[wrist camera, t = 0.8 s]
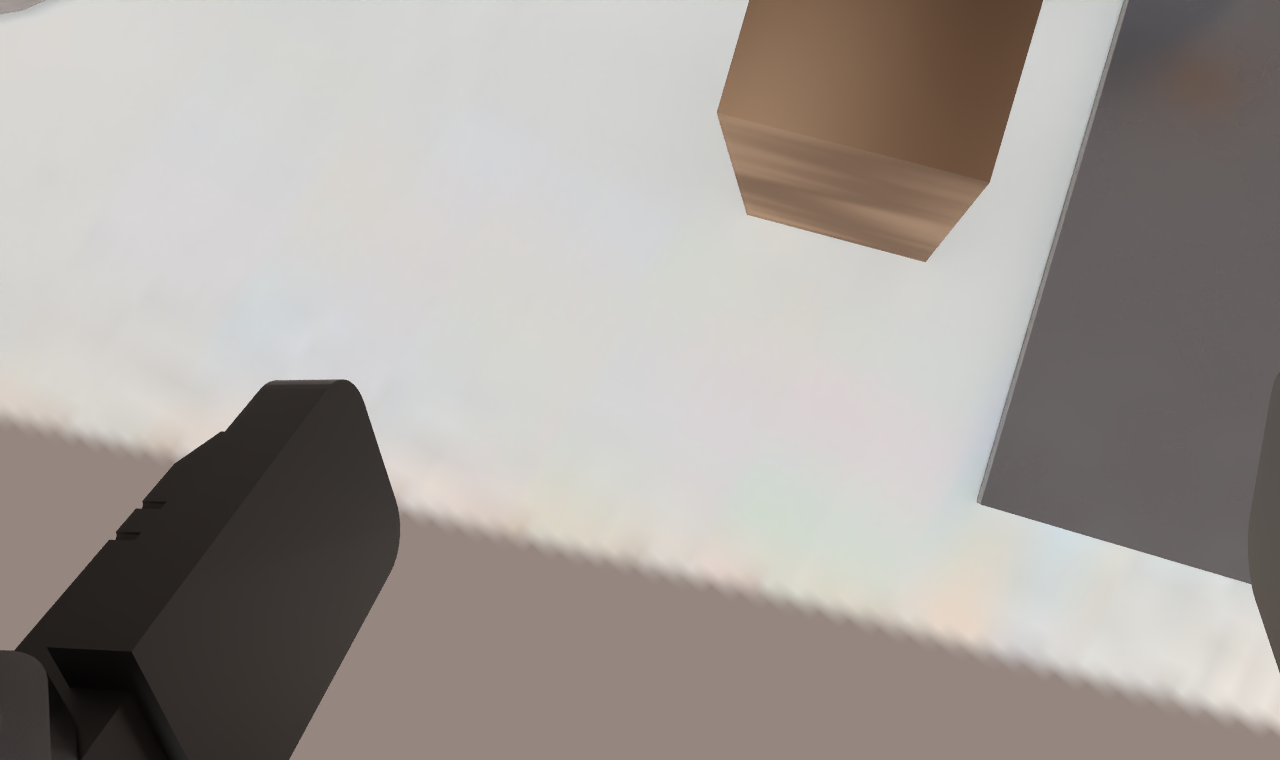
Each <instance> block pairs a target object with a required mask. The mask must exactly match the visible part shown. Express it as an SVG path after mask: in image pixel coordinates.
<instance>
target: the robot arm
mask: <svg viewBox="0 0 1280 760" xmlns="http://www.w3.org/2000/svg"><path fill="white" fill-rule="evenodd" d="M43 1H45V0H0V14H5V13H10V12H16V11H21V10H24V9H26V8H29V7H31V6H33V5H36V4H38V3H40V2H43ZM142 502H143V507H142V509H135V510H134V512H133V513H132V514H131V515H130V516H129V517H128V519H127V520H126V521H125V522H124V523H123V524H122V526H121V527H120V528H119V529H118V530H117V531H116V534H117V537H116V540H109V541H108V542H107V543H106V544H105V545H104V547H103V548H102V549H101V550H100V551H99V552H98V554H97V555H96V556H95V557H94V558H93V559H92V561H91V562H90V563H89V564H88V565H87V567H86V568H85V569H84V570H83V571H82V572H81V573H80V575H79V576H78V577H77V578H76V579H75V580H74V582H73V583H72V584H71V585H70V586H69V587H68V589H67V590H66V591H65V592H64V593H63V594H62V595H61V597H60V598H59V599H58V600H57V601H56V602H55V604H54V605H53V606H52V607H51V608H50V609H49V611H48V612H47V613H46V614H45V615H44V616H43V618H42V619H41V620H40V621H39V622H38V624H37V625H36V626H35V627H34V628H33V629H32V631H31V632H30V633H29V634H28V635H27V636H26V638H25V639H24V640H23V641H22V642H21V644H19V646H18V647H17V648H16V649H15V650H14V651H5V650H2V651H1V650H0V760H289V759H290V757H291V755H292V753H293V751H294V749H295V748H296V746H297V744H298V742H299V740H300V738H301V737H302V734H303V733H304V731H305V729H306V727H307V725H308V723H309V722H310V720H311V718H312V716H313V714H314V713H315V711H316V709H317V707H318V705H319V703H320V701H321V700H322V698H323V696H324V694H325V692H326V690H327V689H328V687H329V685H330V683H331V681H332V679H333V677H334V675H335V674H336V672H337V670H338V668H339V666H340V664H341V663H342V661H343V659H344V657H345V655H346V654H347V652H348V650H349V648H350V646H351V644H352V642H353V641H354V639H355V637H356V635H357V633H358V631H359V629H360V628H361V626H362V624H363V622H364V620H365V618H366V616H367V615H368V613H369V611H370V609H371V607H372V605H373V604H374V602H375V600H376V598H377V596H378V594H379V593H380V591H381V589H382V587H383V585H384V583H385V582H386V580H387V578H388V576H389V574H390V572H391V570H392V567H393V566H394V563H395V560H396V556H397V552H398V547H399V538H400V519H399V512H398V507H397V503H396V499H395V496H394V493H393V490H392V487H391V484H390V481H389V478H388V475H387V472H386V469H385V466H384V462H383V459H382V456H381V453H380V450H379V447H378V444H377V441H376V438H375V435H374V432H373V429H372V426H371V422H370V419H369V416H368V413H367V410H366V407H365V404H364V401H363V399H362V396H361V394H360V392H359V391H358V389H357V388H356V387H355V385H354V384H352V383H351V382H350V381H347V380H275V381H271V382H269V383H267V384H265V385H264V386H263V387H262V388H261V389H260V390H259V391H258V393H257V394H256V395H255V396H254V397H253V399H252V400H251V401H250V402H249V403H248V405H247V406H246V407H245V408H244V409H243V411H242V412H241V413H240V414H239V415H238V417H237V418H236V419H235V420H234V421H233V423H232V424H231V425H230V426H229V427H228V429H227V430H226V431H225V432H220V433H218V434H217V435H215V436H214V437H212V438H211V439H210V440H208V441H207V442H205V443H204V444H202V445H201V446H199V447H198V448H197V449H195V450H194V451H192V452H191V453H189V454H188V455H187V456H185V457H184V458H182V459H181V460H179V461H178V462H176V463H175V464H174V465H173V466H172V467H171V469H170V470H169V471H168V472H167V473H166V474H165V475H164V477H163V478H162V479H161V480H160V481H159V483H158V484H157V485H156V486H155V487H154V488H153V489H152V491H151V492H150V493H149V494H148V495H147V497H146V498H145V499H144V500H143V501H142ZM1248 560H1249V571H1250V578H1251V584H1252V589H1253V593H1254V596H1255V600H1256V603H1257V606H1258V609H1259V612H1260V615H1261V618H1262V621H1263V624H1264V627H1265V630H1266V633H1267V636H1268V639H1269V642H1270V645H1271V648H1272V651H1273V654H1274V657H1275V660H1276V663H1277V666H1278V669H1279V672H1280V372H1279V373H1278V375H1277V377H1276V379H1275V381H1274V384H1273V387H1272V391H1271V396H1270V402H1269V407H1268V413H1267V419H1266V425H1265V431H1264V437H1263V442H1262V448H1261V454H1260V460H1259V466H1258V471H1257V477H1256V483H1255V489H1254V495H1253V500H1252V506H1251V512H1250V518H1249V527H1248Z"/></svg>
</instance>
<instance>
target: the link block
mask: <svg viewBox="0 0 1280 760" xmlns="http://www.w3.org/2000/svg"><path fill="white" fill-rule="evenodd" d="M1042 2H1043V0H749V3H748V7H747V10H746V14H745V17H744V21H743V24H742V28H741V31H740V34H739V38H738V41H737V45H736V48H735V52H734V55H733V59H732V62H731V66H730V69H729V72H728V76H727V79H726V83H725V86H724V90H723V93H722V97H721V100H720V104H719V107H718V110H717V115H718V118H719V122H720V125H721V129H722V132H723V135H724V139H725V142H726V145H727V149H728V152H729V155H730V159H731V162H732V166H733V169H734V172H735V176H736V179H737V182H738V186H739V189H740V193H741V196H742V199H743V203H744V206H745V209H746V213H747V215H751V216H755V217H758V218H762V219H766V220H770V221H773V222H777V223H781V224H785V225H788V226H792V227H796V228H800V229H803V230H807V231H811V232H815V233H818V234H822V235H826V236H830V237H833V238H837V239H841V240H845V241H848V242H852V243H856V244H860V245H863V246H867V247H871V248H875V249H878V250H882V251H886V252H890V253H893V254H897V255H901V256H905V257H908V258H912V259H916V260H920V261H923V262H926V261H927V259H928V258H929V257H930V256H931V254H932V253H933V252H934V251H935V249H936V248H937V247H938V246H939V244H940V243H941V242H942V241H943V239H944V238H945V237H946V236H947V234H948V233H949V232H950V231H951V230H952V228H953V227H954V226H955V225H956V223H957V222H958V221H959V220H960V218H961V217H962V216H963V215H964V213H965V212H966V211H967V210H968V208H969V207H970V206H971V205H972V204H973V202H974V201H975V200H976V199H977V197H978V196H979V195H980V194H981V192H982V191H983V190H984V189H985V187H986V186H987V185H988V184H989V182H990V179H991V176H992V172H993V169H994V166H995V162H996V159H997V155H998V152H999V149H1000V145H1001V142H1002V138H1003V135H1004V131H1005V128H1006V125H1007V121H1008V118H1009V114H1010V111H1011V108H1012V104H1013V101H1014V97H1015V94H1016V91H1017V87H1018V84H1019V80H1020V77H1021V74H1022V70H1023V67H1024V63H1025V60H1026V56H1027V53H1028V50H1029V46H1030V43H1031V39H1032V36H1033V33H1034V29H1035V26H1036V22H1037V19H1038V16H1039V12H1040V9H1041V5H1042Z"/></svg>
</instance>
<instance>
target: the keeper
mask: <svg viewBox="0 0 1280 760" xmlns="http://www.w3.org/2000/svg"><path fill="white" fill-rule="evenodd" d="M1279 372H1280V0H1124V3H1123V7H1122V10H1121V14H1120V17H1119V20H1118V24H1117V27H1116V31H1115V34H1114V37H1113V41H1112V44H1111V48H1110V51H1109V54H1108V58H1107V61H1106V64H1105V68H1104V71H1103V75H1102V78H1101V81H1100V85H1099V88H1098V92H1097V95H1096V98H1095V102H1094V105H1093V109H1092V112H1091V115H1090V119H1089V122H1088V126H1087V129H1086V132H1085V136H1084V139H1083V143H1082V146H1081V149H1080V153H1079V156H1078V160H1077V163H1076V166H1075V170H1074V173H1073V177H1072V180H1071V183H1070V187H1069V190H1068V194H1067V197H1066V200H1065V204H1064V207H1063V211H1062V214H1061V217H1060V221H1059V224H1058V228H1057V231H1056V234H1055V238H1054V241H1053V245H1052V248H1051V251H1050V255H1049V258H1048V262H1047V265H1046V268H1045V272H1044V275H1043V279H1042V282H1041V285H1040V289H1039V292H1038V296H1037V299H1036V302H1035V306H1034V309H1033V313H1032V316H1031V319H1030V323H1029V326H1028V330H1027V333H1026V336H1025V340H1024V343H1023V346H1022V350H1021V353H1020V357H1019V360H1018V363H1017V367H1016V370H1015V374H1014V377H1013V380H1012V384H1011V387H1010V391H1009V394H1008V397H1007V401H1006V404H1005V408H1004V411H1003V414H1002V418H1001V421H1000V425H999V428H998V431H997V435H996V438H995V442H994V445H993V448H992V452H991V455H990V459H989V462H988V465H987V469H986V472H985V476H984V479H983V482H982V486H981V489H980V493H979V496H978V499H977V503H979V504H981V505H985V506H988V507H991V508H995V509H998V510H1002V511H1005V512H1008V513H1012V514H1015V515H1019V516H1022V517H1025V518H1029V519H1032V520H1036V521H1039V522H1042V523H1046V524H1049V525H1053V526H1056V527H1059V528H1063V529H1066V530H1069V531H1073V532H1076V533H1080V534H1083V535H1086V536H1090V537H1093V538H1097V539H1100V540H1103V541H1107V542H1110V543H1114V544H1117V545H1120V546H1124V547H1127V548H1131V549H1134V550H1137V551H1141V552H1144V553H1148V554H1151V555H1154V556H1158V557H1161V558H1164V559H1168V560H1171V561H1175V562H1178V563H1181V564H1185V565H1188V566H1192V567H1195V568H1198V569H1202V570H1205V571H1209V572H1212V573H1215V574H1219V575H1222V576H1226V577H1229V578H1232V579H1236V580H1239V581H1243V582H1246V583H1249V584H1251V578H1250V571H1249V560H1248V527H1249V518H1250V512H1251V506H1252V500H1253V495H1254V489H1255V483H1256V477H1257V471H1258V466H1259V460H1260V454H1261V448H1262V442H1263V437H1264V431H1265V425H1266V419H1267V413H1268V407H1269V402H1270V396H1271V391H1272V387H1273V384H1274V381H1275V379H1276V377H1277V375H1278V373H1279Z"/></svg>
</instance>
